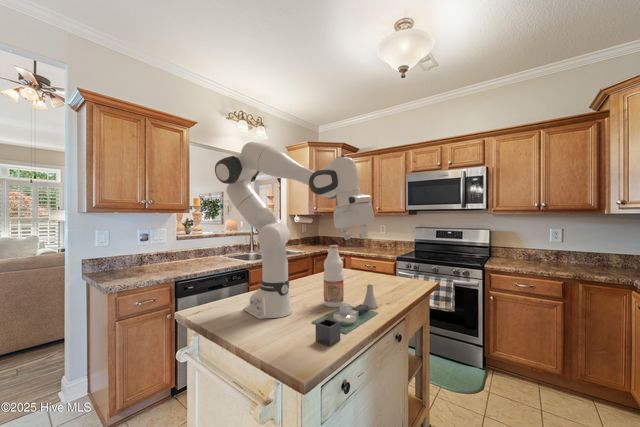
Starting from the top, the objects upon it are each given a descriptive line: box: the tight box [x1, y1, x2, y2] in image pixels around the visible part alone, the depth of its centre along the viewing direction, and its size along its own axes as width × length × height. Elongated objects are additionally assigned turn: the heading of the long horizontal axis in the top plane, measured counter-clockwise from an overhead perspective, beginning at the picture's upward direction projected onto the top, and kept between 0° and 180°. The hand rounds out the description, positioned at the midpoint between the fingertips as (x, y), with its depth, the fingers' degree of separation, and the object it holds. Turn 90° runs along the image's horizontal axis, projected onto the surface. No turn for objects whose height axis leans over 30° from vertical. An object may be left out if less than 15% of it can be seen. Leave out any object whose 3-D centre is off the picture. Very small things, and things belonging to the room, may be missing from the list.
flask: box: [362, 283, 379, 310], centre depth 126 cm, size 7×7×10 cm
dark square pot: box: [315, 318, 341, 348], centre depth 92 cm, size 6×6×6 cm
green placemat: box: [311, 302, 379, 335], centre depth 112 cm, size 16×25×7 cm, turn 141°
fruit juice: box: [323, 244, 345, 308], centre depth 129 cm, size 9×9×28 cm
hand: (355, 239), depth 98 cm, fingers open, 8 cm apart
